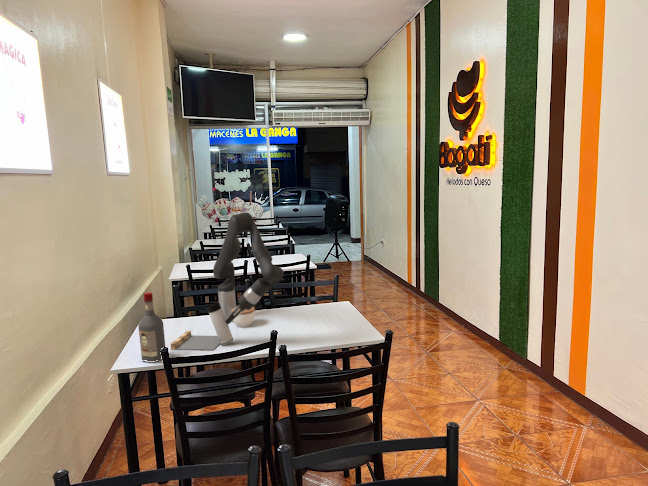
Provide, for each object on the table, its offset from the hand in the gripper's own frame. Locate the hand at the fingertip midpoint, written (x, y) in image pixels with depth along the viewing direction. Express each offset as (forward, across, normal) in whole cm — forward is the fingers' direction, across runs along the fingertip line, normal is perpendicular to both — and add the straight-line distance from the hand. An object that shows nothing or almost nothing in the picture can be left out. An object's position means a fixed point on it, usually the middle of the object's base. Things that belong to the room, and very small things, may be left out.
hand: (227, 322), depth 211 cm
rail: (+25, -1, -10) cm, 27 cm away
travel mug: (+7, 0, +7) cm, 10 cm away
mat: (+17, -1, -2) cm, 18 cm away
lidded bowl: (+9, -28, +7) cm, 30 cm away
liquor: (+28, +18, -12) cm, 35 cm away
